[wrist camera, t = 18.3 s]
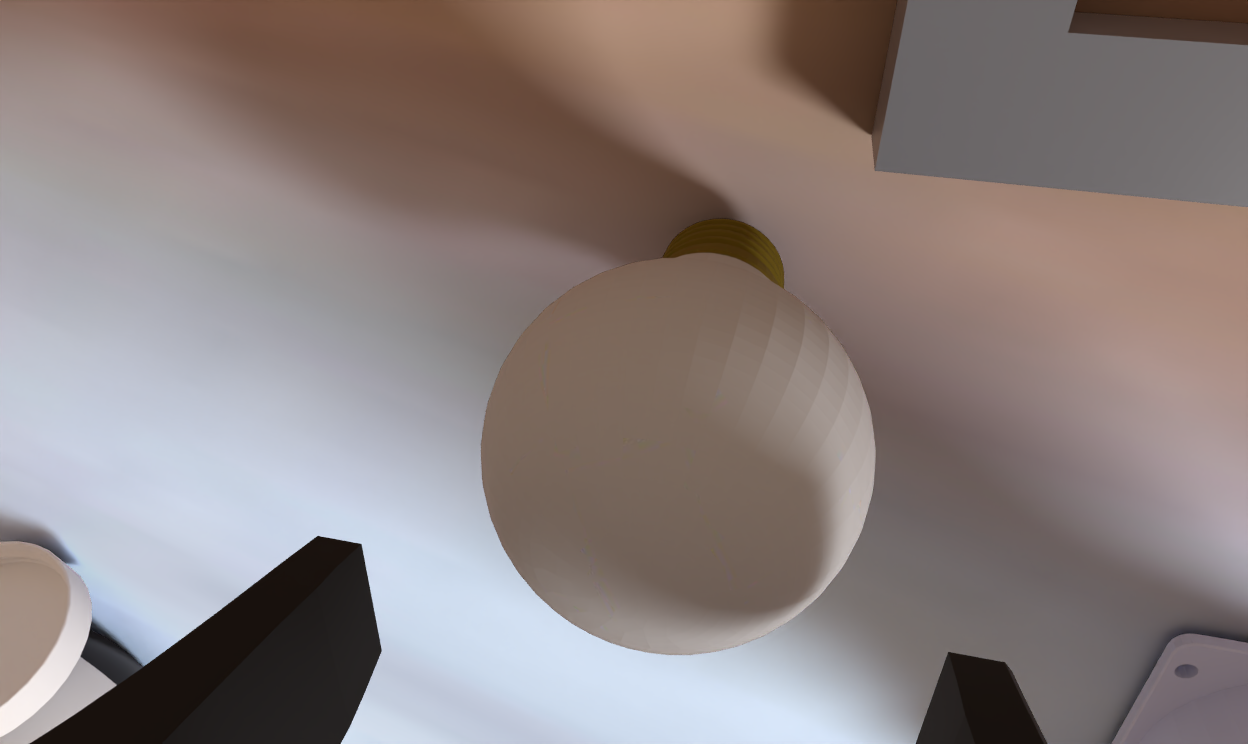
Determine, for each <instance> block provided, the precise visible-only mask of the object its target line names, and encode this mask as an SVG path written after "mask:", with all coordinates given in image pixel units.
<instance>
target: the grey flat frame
mask: <svg viewBox="0 0 1248 744" xmlns="http://www.w3.org/2000/svg"><path fill="white" fill-rule="evenodd" d="M1076 4H1077V0H897V5H896V10H895V16H894V21H893V26H892V31H891V37H890V42H889V47H888V53H887V58H886V63H885V69H884V74H883V79H882V84H881V90H880V95H879V100H878V106H877V111H876V116H875V122H874V127H873V132H872V146H873V157H874V168H875V171H883V172H894V173H904V174H914V175H924V176H934V177H945V178H955V179H965V180H975V181H986V182H996V183H1006V184H1016V185H1026V186H1037V187H1047V188H1057V189H1067V190H1078V191H1088V192H1098V193H1108V194H1118V195H1129V196H1139V197H1149V198H1159V199H1170V200H1180V201H1190V202H1200V203H1210V204H1221V205H1231V206H1241V207H1248V23H1233V22H1218V21H1203V20H1188V19H1172V18H1157V17H1142V16H1127V15H1112V14H1097V13H1082V12H1074V10H1075V7H1076Z"/></svg>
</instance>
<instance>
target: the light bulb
mask: <svg viewBox="0 0 1248 744" xmlns="http://www.w3.org/2000/svg"><path fill="white" fill-rule="evenodd" d="M875 459H876V448H875V440H874V432H873V425H872V417H871V412H870V408H869V404H868V401H867V398H866V395H865V392H864V390H863V387H862V384H861V381H860V378H859V376H858V374H857V371H856V370H855V368H854V366H853V364H852V362H851V361H850V359H849V357H848V355H847V354H846V352H845V350H844V348H843V347H842V345H841V344H840V342H839V341H838V340H837V338H836V337H835V336H834V335H833V333H832V332H831V331H830V330H829V328H828V327H827V326H826V325H825V324H824V322H823V321H822V320H821V319H820V318H819V317H818V316H817V315H816V314H815V313H814V312H812V311H811V310H810V309H809V308H808V307H807V306H806V305H805V304H804V303H802V302H801V301H800V300H799V299H798V298H797V297H795V296H794V295H792V294H790V293H789V292H787V291H786V290H784V270H783V264H782V261H781V258H780V255H779V253H778V252H777V250H776V248H775V246H774V245H773V244H772V243H771V241H770V240H769V239H768V238H767V237H766V236H765V235H764V234H762V233H761V232H760V231H758V230H757V229H755V228H754V227H752V226H750V225H748V224H745V223H743V222H740V221H736V220H731V219H710V220H705V221H701V222H698V223H695V224H693V225H691V226H689V227H687V228H686V229H684V230H683V231H682V232H680V233H679V234H678V235H677V236H676V237H675V238H674V239H673V240H672V242H671V243H670V245H669V246H668V248H667V250H666V252H665V253H664V255H663V257H662V258H659V259H652V260H646V261H639V262H634V263H630V264H627V265H624V266H621V267H618V268H614V269H611V270H608V271H605V272H602V273H600V274H598V275H596V276H594V277H592V278H591V279H589V280H587V281H585V282H583V283H581V284H579V285H577V286H575V287H573V288H572V289H571V290H569V291H568V292H567V293H565V294H564V295H563V296H561V297H560V298H559V299H557V300H556V301H555V302H553V303H552V304H551V305H549V306H548V307H547V308H546V309H545V310H544V311H543V312H542V313H541V314H540V315H539V316H538V317H537V318H536V319H535V320H534V322H533V323H532V324H531V325H530V326H529V327H528V328H527V329H526V330H525V331H524V332H523V334H522V335H521V336H520V338H519V339H518V341H517V342H516V344H515V345H514V347H513V349H512V350H511V352H510V354H509V355H508V357H507V358H506V360H505V362H504V364H503V365H502V367H501V369H500V371H499V374H498V377H497V379H496V382H495V385H494V387H493V390H492V393H491V396H490V398H489V401H488V405H487V409H486V413H485V420H484V427H483V433H482V441H481V464H482V481H483V488H484V492H485V496H486V501H487V505H488V509H489V513H490V517H491V520H492V522H493V525H494V527H495V530H496V532H497V534H498V537H499V539H500V542H501V544H502V546H503V548H504V550H505V552H506V553H507V555H508V557H509V558H510V560H511V561H512V563H513V565H514V566H515V568H516V569H517V571H518V573H519V574H520V575H521V576H522V578H523V579H524V580H525V581H526V582H527V584H528V585H529V586H530V587H531V588H532V590H533V591H534V592H535V593H536V594H537V595H538V596H539V597H540V598H541V599H542V600H543V601H544V602H545V603H547V604H548V605H549V606H550V607H551V608H552V609H553V610H554V611H556V612H557V613H558V614H560V615H561V616H562V617H564V618H565V619H566V620H568V621H569V622H571V623H572V624H574V625H575V626H577V627H579V628H581V629H582V630H584V631H586V632H588V633H589V634H592V635H594V636H596V637H598V638H601V639H603V640H605V641H608V642H610V643H613V644H616V645H619V646H623V647H626V648H629V649H634V650H638V651H643V652H648V653H656V654H666V655H693V654H701V653H710V652H716V651H720V650H724V649H728V648H732V647H736V646H739V645H742V644H745V643H747V642H750V641H752V640H755V639H757V638H760V637H762V636H764V635H766V634H768V633H770V632H772V631H773V630H775V629H777V628H778V627H780V626H782V625H784V624H785V623H787V622H789V621H790V620H792V619H793V618H794V617H796V616H797V615H798V614H799V613H800V612H802V611H803V610H804V609H805V608H806V607H808V606H809V605H810V604H811V603H812V602H813V601H815V600H816V599H817V598H818V597H819V596H820V595H821V594H822V592H823V591H824V590H825V589H826V588H827V586H828V585H829V584H830V583H831V581H832V580H833V579H834V578H835V577H836V575H837V574H838V573H839V571H840V570H841V569H842V567H843V566H844V564H845V562H846V561H847V559H848V557H849V555H850V553H851V551H852V549H853V547H854V546H855V544H856V542H857V540H858V538H859V536H860V533H861V531H862V528H863V525H864V522H865V518H866V515H867V511H868V508H869V504H870V501H871V497H872V493H873V486H874V473H875Z"/></svg>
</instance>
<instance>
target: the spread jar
mask: <svg viewBox="0 0 1248 744" xmlns="http://www.w3.org/2000/svg"><path fill="white" fill-rule="evenodd" d="M91 621H92V602H91V598H90V594H89V591H88V588H87V586H86V584H85V583H84V581H83V579H82V578H81V576H80V575H79V574H78V573H76V572H75V571H74V570H73V569H72V568H71V567H69V566H68V565H67V564H66V563H64V562H63V561H62V560H61V559H59V558H58V557H57V556H56V555H54V554H53V553H52V552H51V551H49V550H47V549H45V548H43V547H41V546H38V545H36V544H32V543H26V542H21V541H6V542H0V744H29V743H31V742H33V741H34V740H36V739H37V738H39V737H41V736H42V735H44V734H45V733H47V732H48V731H50V730H51V729H53V728H54V727H56V726H58V725H59V724H61V723H62V722H64V721H65V720H67V719H68V718H70V717H71V716H73V715H74V714H76V713H77V712H79V711H80V710H82V709H83V708H85V707H86V706H87V705H89V704H90V703H92V702H93V701H95V700H96V699H98V698H99V697H101V696H102V695H103V694H105V693H106V692H108V691H109V690H111V689H112V688H114V687H115V686H117V685H118V684H119V683H121V682H122V681H124V680H125V679H127V678H128V677H130V676H131V675H133V674H134V673H135V672H137V671H138V670H140V669H141V668H143V667H142V666H141V665H140V664H139V663H138V662H137V661H136V660H135V659H134V658H133V657H132V656H131V655H129V654H128V653H127V652H126V651H124V650H123V649H122V648H120V647H119V646H118V645H116V644H115V643H113V642H112V641H110V640H108V639H107V638H105V637H103V636H102V635H100V634H98V633H96V632H94V631H92V630H90V625H91Z"/></svg>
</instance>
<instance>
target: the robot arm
mask: <svg viewBox="0 0 1248 744" xmlns="http://www.w3.org/2000/svg"><path fill="white" fill-rule="evenodd" d="M381 651H382V650H381V645H380V639H379V634H378V629H377V623H376V618H375V613H374V608H373V602H372V597H371V592H370V587H369V581H368V576H367V571H366V566H365V560H364V555H363V550H362V545H361V544H358V543H353V542H348V541H342V540H337V539H331V538H326V537H320V536H317V537H316V538H314V539H313V540H312V541H310V542H309V543H308V544H306V545H305V546H304V547H302V548H301V549H300V550H298V551H297V552H296V553H294V554H293V555H292V556H290V557H289V558H288V559H286V560H285V561H284V562H282V563H281V564H280V565H278V566H277V567H276V568H274V569H273V570H272V571H271V572H269V573H268V574H267V575H265V576H264V577H263V578H261V579H260V580H259V581H258V582H256V583H255V584H254V585H252V586H251V587H250V588H248V589H247V590H246V591H245V592H243V593H242V594H241V595H239V596H238V597H237V598H235V599H234V600H233V601H231V602H230V603H229V604H228V605H226V606H225V607H224V608H222V609H221V610H220V611H218V612H217V613H216V614H214V615H213V616H212V617H210V618H209V619H208V620H206V621H205V622H204V623H202V624H201V625H200V626H198V627H197V628H196V629H194V630H193V631H192V632H190V633H189V634H188V635H186V636H185V637H184V638H182V639H181V640H179V641H178V642H177V643H175V644H174V645H173V646H171V647H170V648H169V649H167V650H166V651H165V652H163V653H162V654H161V655H159V656H158V657H156V658H155V659H154V660H152V661H151V662H150V663H148V664H147V665H145V666H144V667H143V668H141V669H140V670H138V671H137V672H135V673H134V674H133V675H131V676H130V677H128V678H127V679H125V680H124V681H122V682H121V683H119V684H118V685H117V686H115V687H114V688H112V689H111V690H109V691H108V692H106V693H105V694H103V695H102V696H101V697H99V698H98V699H96V700H95V701H93V702H92V703H90V704H89V705H87V706H86V707H85V708H83V709H82V710H80V711H79V712H77V713H76V714H74V715H73V716H71V717H70V718H68V719H67V720H65V721H64V722H62V723H61V724H59V725H58V726H56V727H54V728H53V729H51V730H50V731H48V732H47V733H45V734H44V735H42V736H41V737H39V738H37V739H36V740H34V741H33V742H31V743H29V744H341V742H342V740H343V738H344V736H345V734H346V733H347V731H348V729H349V727H350V725H351V723H352V720H353V718H354V716H355V714H356V711H357V709H358V707H359V704H360V702H361V700H362V698H363V695H364V693H365V691H366V688H367V686H368V683H369V681H370V678H371V676H372V673H373V671H374V668H375V666H376V664H377V661H378V659H379V656H380V654H381ZM1184 664H1187V665H1184ZM1180 665H1184V666H1180ZM916 744H1047V742H1046V740H1045V738H1044V736H1043V734H1042V732H1041V730H1040V728H1039V726H1038V724H1037V722H1036V720H1035V718H1034V716H1033V714H1032V712H1031V710H1030V708H1029V706H1028V704H1027V702H1026V700H1025V698H1024V696H1023V694H1022V691H1021V689H1020V687H1019V685H1018V683H1017V681H1016V679H1015V677H1014V675H1013V673H1012V671H1011V670H1010V668H1009V667H1008V666H1007V665H1006V663H1005V662H1000V661H994V660H989V659H983V658H978V657H972V656H967V655H961V654H956V653H951V652H948V655H947V658H946V660H945V663H944V666H943V669H942V672H941V674H940V677H939V680H938V683H937V686H936V688H935V691H934V694H933V697H932V700H931V702H930V705H929V708H928V711H927V714H926V716H925V719H924V722H923V725H922V728H921V730H920V733H919V736H918V739H917V742H916ZM1111 744H1248V643H1246V642H1240V641H1235V640H1229V639H1223V638H1217V637H1211V636H1206V635H1200V634H1189V633H1187V634H1182V635H1179V636H1177V637H1175V638H1173V639H1172V640H1171V641H1170V642H1169V643H1168V644H1167V646H1166V648H1165V650H1164V651H1163V653H1162V655H1161V657H1160V658H1159V660H1158V662H1157V664H1156V665H1155V667H1154V669H1153V671H1152V673H1151V674H1150V676H1149V678H1148V680H1147V681H1146V683H1145V685H1144V687H1143V689H1142V690H1141V692H1140V694H1139V696H1138V697H1137V699H1136V701H1135V703H1134V704H1133V706H1132V708H1131V710H1130V712H1129V713H1128V715H1127V717H1126V719H1125V720H1124V722H1123V724H1122V726H1121V728H1120V729H1119V731H1118V733H1117V735H1116V736H1115V738H1114V740H1113V742H1112V743H1111Z"/></svg>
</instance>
